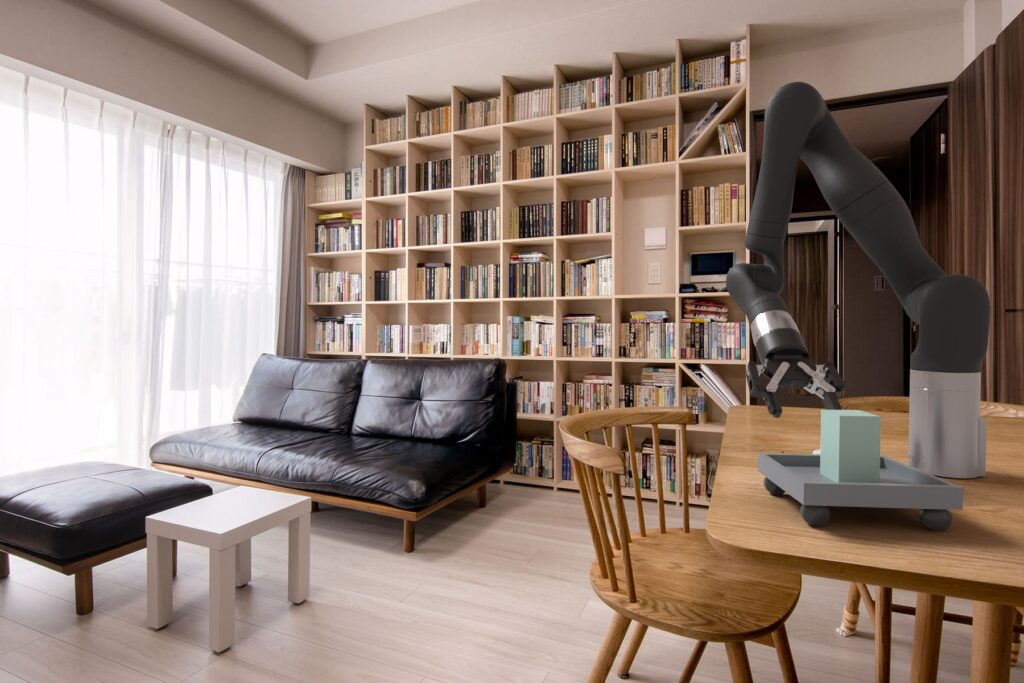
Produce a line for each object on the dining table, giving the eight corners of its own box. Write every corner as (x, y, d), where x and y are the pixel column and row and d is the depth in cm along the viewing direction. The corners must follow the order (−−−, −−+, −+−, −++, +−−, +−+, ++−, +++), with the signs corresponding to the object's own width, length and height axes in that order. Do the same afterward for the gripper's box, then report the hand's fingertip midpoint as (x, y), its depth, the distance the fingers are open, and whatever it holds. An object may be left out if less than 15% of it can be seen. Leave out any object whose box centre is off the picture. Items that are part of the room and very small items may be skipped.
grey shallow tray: (884, 494, 76) (885, 455, 76) (962, 534, 62) (963, 487, 61) (757, 490, 78) (758, 453, 78) (803, 529, 63) (803, 483, 63)
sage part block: (858, 474, 72) (859, 410, 72) (879, 485, 67) (880, 416, 67) (820, 473, 73) (821, 409, 72) (838, 484, 68) (839, 415, 67)
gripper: (741, 326, 91) (766, 401, 80) (827, 326, 89) (864, 401, 78) (731, 355, 96) (753, 428, 85) (812, 354, 95) (845, 429, 84)
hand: (806, 415), depth 82 cm, fingers open, 8 cm apart
